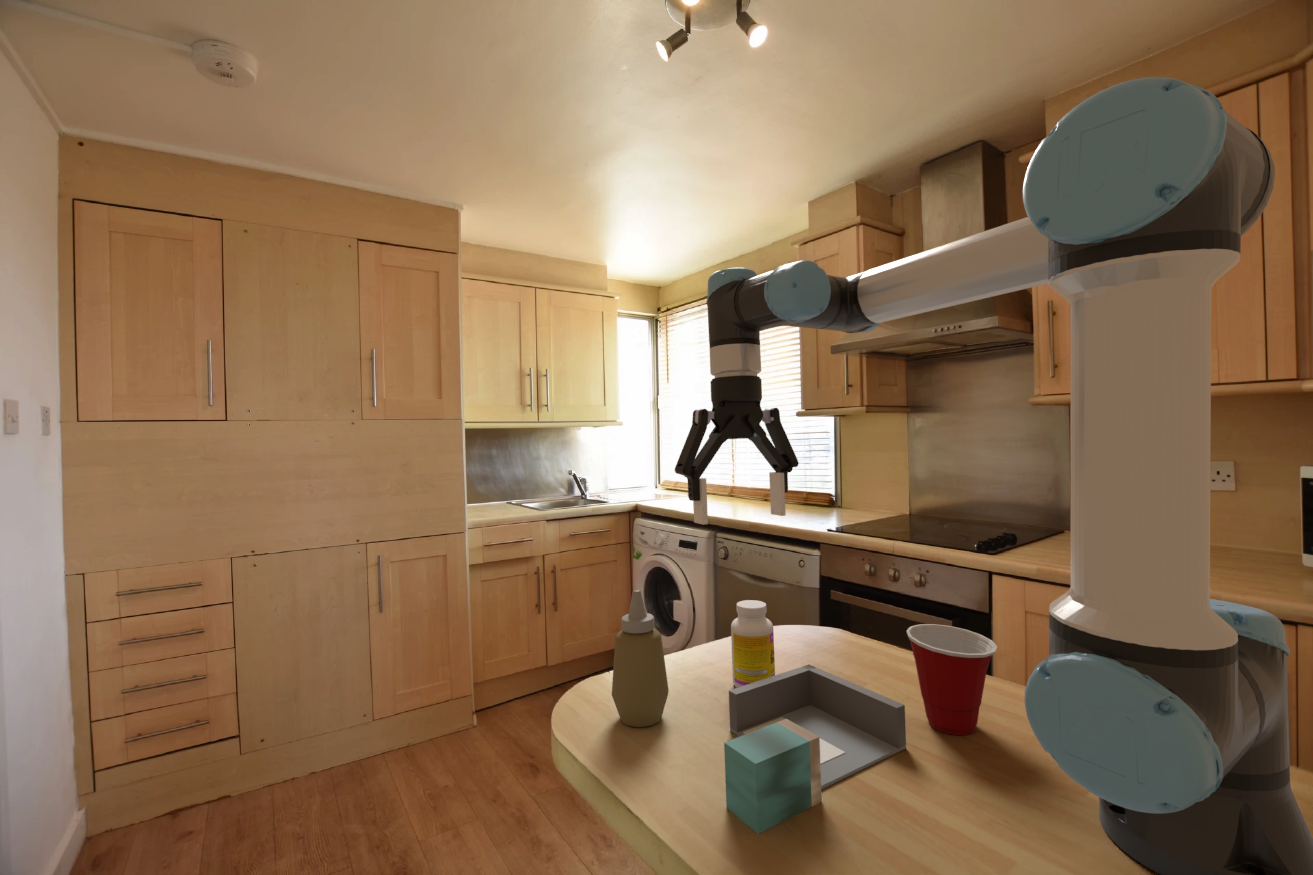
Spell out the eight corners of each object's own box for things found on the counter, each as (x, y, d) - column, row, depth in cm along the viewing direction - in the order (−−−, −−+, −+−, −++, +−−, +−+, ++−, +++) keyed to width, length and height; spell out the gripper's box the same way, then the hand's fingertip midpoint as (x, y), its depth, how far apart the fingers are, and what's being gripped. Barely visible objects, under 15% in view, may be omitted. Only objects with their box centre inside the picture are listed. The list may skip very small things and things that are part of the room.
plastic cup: (1004, 753, 71) (1001, 654, 71) (907, 736, 76) (904, 643, 76) (996, 713, 81) (993, 626, 81) (910, 701, 86) (908, 618, 86)
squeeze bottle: (638, 700, 89) (634, 581, 89) (681, 714, 84) (676, 588, 84) (600, 721, 83) (596, 593, 83) (644, 738, 78) (639, 602, 78)
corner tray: (906, 748, 73) (904, 704, 73) (820, 789, 65) (819, 741, 65) (810, 700, 87) (808, 664, 87) (730, 730, 79) (728, 690, 79)
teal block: (788, 779, 68) (786, 718, 67) (821, 801, 63) (819, 736, 63) (726, 807, 63) (724, 742, 63) (757, 833, 59) (755, 763, 59)
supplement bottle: (779, 693, 89) (776, 609, 89) (735, 695, 90) (732, 610, 90) (771, 675, 96) (768, 597, 96) (730, 677, 96) (728, 598, 96)
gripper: (787, 379, 96) (792, 509, 96) (648, 378, 86) (654, 523, 86) (818, 374, 90) (823, 514, 90) (671, 372, 79) (677, 530, 79)
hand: (740, 519), depth 88 cm, fingers open, 13 cm apart
